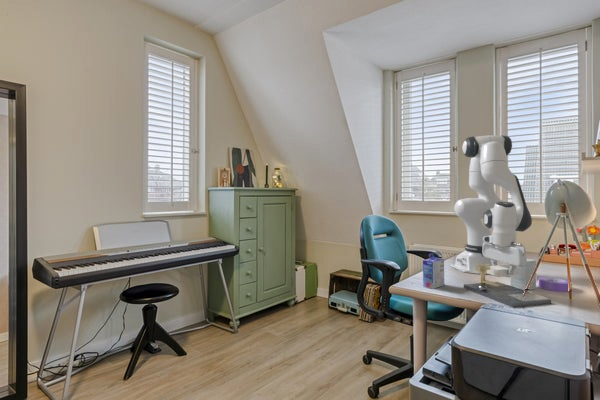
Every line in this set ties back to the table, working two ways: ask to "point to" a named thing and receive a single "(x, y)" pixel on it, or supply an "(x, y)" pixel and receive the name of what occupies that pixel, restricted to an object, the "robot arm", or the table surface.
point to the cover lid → (502, 270)
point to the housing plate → (508, 295)
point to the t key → (482, 269)
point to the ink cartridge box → (433, 272)
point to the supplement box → (524, 276)
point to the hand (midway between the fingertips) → (502, 272)
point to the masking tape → (553, 284)
